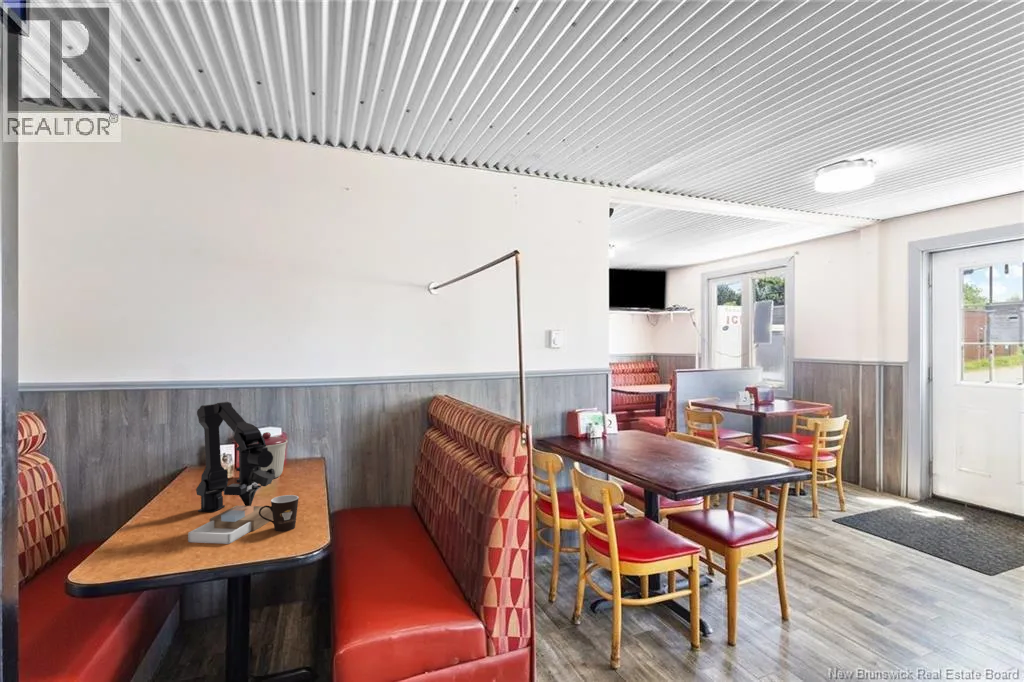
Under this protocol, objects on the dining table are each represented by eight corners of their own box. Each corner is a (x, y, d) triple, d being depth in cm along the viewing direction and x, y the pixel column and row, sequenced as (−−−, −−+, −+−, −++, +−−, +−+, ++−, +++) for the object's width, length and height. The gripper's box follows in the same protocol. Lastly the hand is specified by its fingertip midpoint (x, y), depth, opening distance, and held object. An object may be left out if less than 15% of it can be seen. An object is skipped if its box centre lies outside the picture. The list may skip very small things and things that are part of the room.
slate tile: (221, 521, 169) (221, 515, 169) (231, 516, 174) (231, 510, 174) (235, 521, 168) (235, 515, 168) (244, 516, 173) (244, 510, 173)
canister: (236, 482, 228) (236, 435, 228) (258, 472, 246) (258, 428, 246) (275, 482, 227) (275, 436, 227) (294, 472, 245) (294, 429, 245)
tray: (188, 542, 160) (188, 532, 160) (212, 529, 171) (212, 520, 171) (229, 543, 158) (229, 534, 158) (251, 530, 169) (251, 521, 169)
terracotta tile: (230, 516, 174) (230, 510, 174) (240, 511, 179) (240, 505, 179) (244, 516, 173) (244, 510, 173) (253, 511, 178) (253, 506, 178)
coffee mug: (301, 523, 177) (301, 494, 177) (295, 532, 168) (295, 502, 168) (265, 525, 175) (265, 496, 175) (257, 534, 166) (257, 504, 166)
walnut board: (209, 529, 171) (209, 518, 171) (236, 515, 185) (236, 505, 185) (254, 530, 169) (254, 520, 169) (277, 516, 183) (277, 506, 183)
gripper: (253, 471, 169) (253, 517, 169) (284, 458, 187) (284, 500, 187) (222, 470, 170) (222, 516, 170) (256, 457, 189) (256, 499, 189)
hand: (248, 507), depth 179 cm, fingers closed
